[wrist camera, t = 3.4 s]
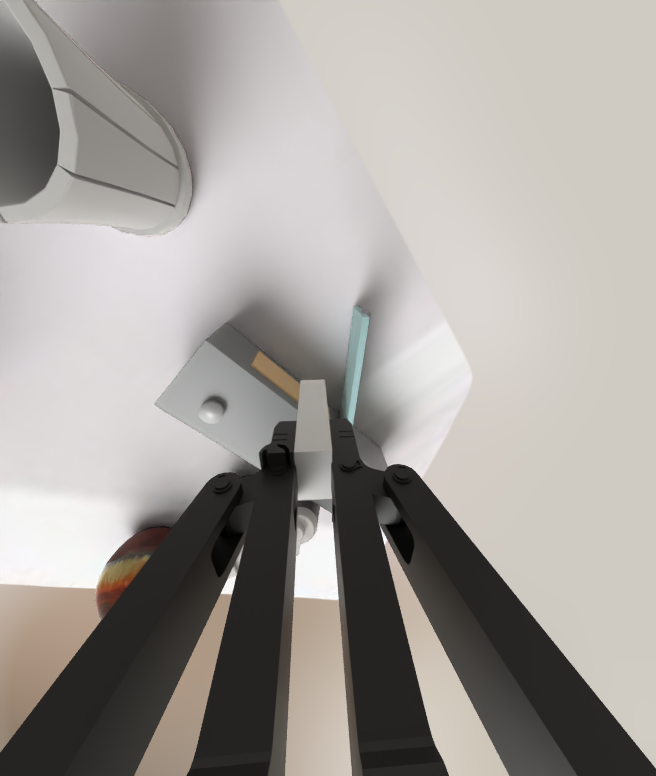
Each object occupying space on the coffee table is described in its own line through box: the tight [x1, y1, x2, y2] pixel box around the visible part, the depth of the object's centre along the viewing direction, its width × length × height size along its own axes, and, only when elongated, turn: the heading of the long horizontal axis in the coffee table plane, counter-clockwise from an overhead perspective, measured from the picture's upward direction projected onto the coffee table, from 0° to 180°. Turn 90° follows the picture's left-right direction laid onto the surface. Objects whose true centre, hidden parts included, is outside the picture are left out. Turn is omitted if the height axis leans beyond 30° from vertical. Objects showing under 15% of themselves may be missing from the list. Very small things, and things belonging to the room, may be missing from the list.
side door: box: [339, 306, 370, 426], centre depth 26 cm, size 13×1×5 cm, turn 175°
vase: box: [95, 527, 172, 620], centre depth 34 cm, size 11×11×15 cm
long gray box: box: [154, 323, 388, 513], centre depth 28 cm, size 26×8×7 cm, turn 45°
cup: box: [0, 0, 192, 237], centre depth 15 cm, size 10×9×12 cm
